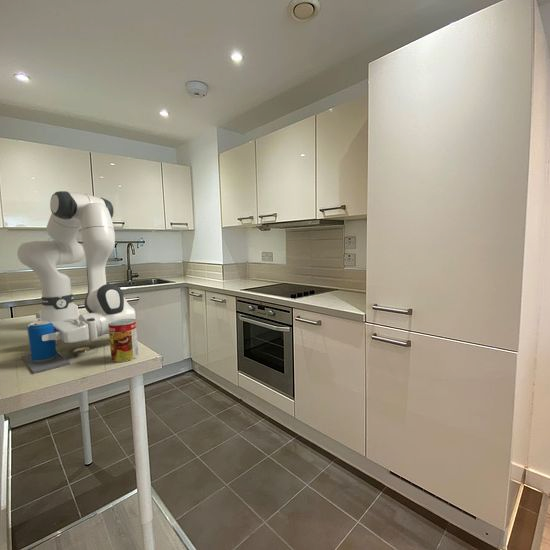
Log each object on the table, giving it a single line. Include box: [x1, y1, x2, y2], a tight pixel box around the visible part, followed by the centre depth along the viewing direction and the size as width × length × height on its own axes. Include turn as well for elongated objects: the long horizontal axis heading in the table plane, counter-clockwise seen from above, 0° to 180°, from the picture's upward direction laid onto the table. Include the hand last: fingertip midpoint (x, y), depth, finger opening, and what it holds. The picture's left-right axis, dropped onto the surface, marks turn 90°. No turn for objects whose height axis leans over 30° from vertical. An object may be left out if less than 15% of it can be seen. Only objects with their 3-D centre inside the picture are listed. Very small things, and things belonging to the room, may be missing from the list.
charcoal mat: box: [21, 350, 71, 374], centre depth 100 cm, size 20×9×1 cm, turn 47°
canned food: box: [108, 319, 139, 363], centre depth 100 cm, size 8×8×12 cm
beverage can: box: [27, 320, 57, 362], centre depth 99 cm, size 6×6×12 cm
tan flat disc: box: [72, 346, 91, 354], centre depth 109 cm, size 5×5×1 cm
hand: (38, 335), depth 98 cm, fingers open, 7 cm apart
